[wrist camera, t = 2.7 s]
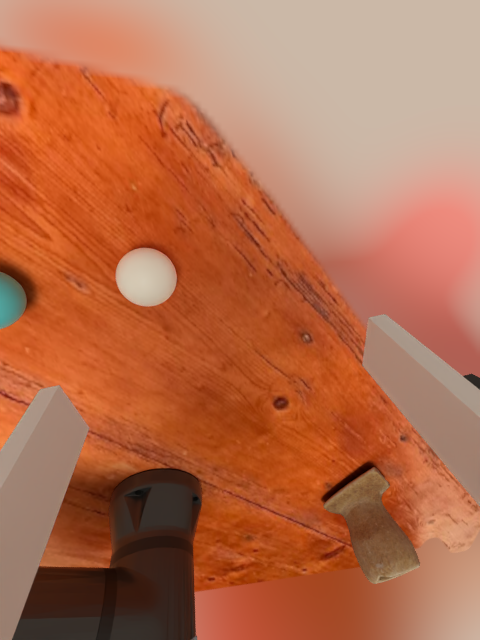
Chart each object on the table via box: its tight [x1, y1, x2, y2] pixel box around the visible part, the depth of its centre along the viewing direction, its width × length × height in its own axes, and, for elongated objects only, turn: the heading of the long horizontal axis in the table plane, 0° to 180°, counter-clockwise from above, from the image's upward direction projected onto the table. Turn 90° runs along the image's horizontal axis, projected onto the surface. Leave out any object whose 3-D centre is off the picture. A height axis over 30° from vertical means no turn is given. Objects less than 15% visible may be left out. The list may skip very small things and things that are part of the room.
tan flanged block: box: [323, 467, 420, 584], centre depth 52 cm, size 15×12×15 cm
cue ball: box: [116, 248, 177, 306], centre depth 26 cm, size 6×6×6 cm
